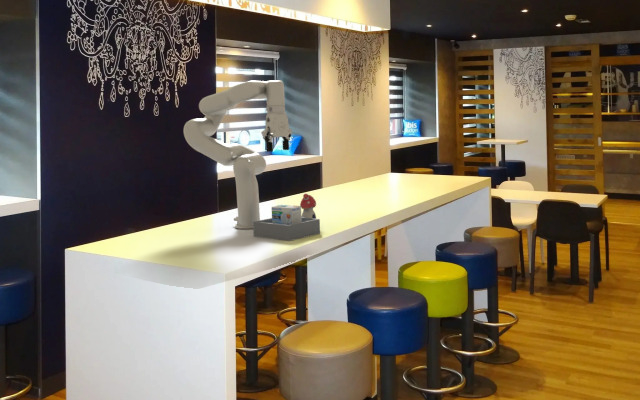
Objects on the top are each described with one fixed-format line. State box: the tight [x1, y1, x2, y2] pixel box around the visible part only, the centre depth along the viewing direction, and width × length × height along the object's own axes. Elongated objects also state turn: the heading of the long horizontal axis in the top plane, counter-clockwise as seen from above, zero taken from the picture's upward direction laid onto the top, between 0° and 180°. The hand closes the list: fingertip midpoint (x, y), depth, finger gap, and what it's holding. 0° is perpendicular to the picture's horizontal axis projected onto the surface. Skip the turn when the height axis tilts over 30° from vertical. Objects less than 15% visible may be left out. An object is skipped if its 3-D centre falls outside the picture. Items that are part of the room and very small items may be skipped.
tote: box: [253, 216, 321, 242], centre depth 284 cm, size 20×18×6 cm
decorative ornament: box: [299, 193, 317, 219], centre depth 299 cm, size 9×7×15 cm
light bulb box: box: [271, 204, 302, 225], centre depth 284 cm, size 11×7×11 cm, turn 55°
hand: (277, 150), depth 297 cm, fingers open, 9 cm apart
